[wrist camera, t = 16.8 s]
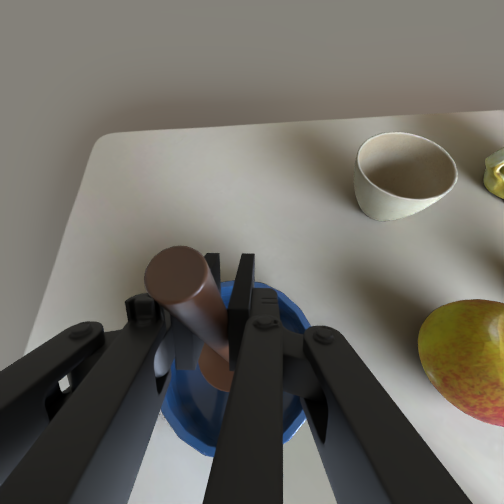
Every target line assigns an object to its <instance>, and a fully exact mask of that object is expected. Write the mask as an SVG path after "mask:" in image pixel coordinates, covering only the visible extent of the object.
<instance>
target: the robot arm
mask: <svg viewBox="0 0 504 504" xmlns="http://www.w3.org/2000/svg"><path fill="white" fill-rule="evenodd" d="M204 258H205V260H206V262H207V264H208V266H209V269H210V271H211V273H212V276H213V278H214V281H215V283H216V285H217V288H218V290H219V292H220V295H221V280H220V255H219V253H207V254H206V255H205V257H204ZM254 268H255V254H244V253H242V255H241V259H240V263H239V266H238V270H237V274H236V278H235V282H234V285H233V289H232V293H231V297H230V301H229V304H228V308H227V312H228V317H229V324H228V343H229V371H234V375H233V379H232V383H231V388H230V392H229V396H228V400H227V404H226V408H225V413H224V417H223V421H222V425H221V429H220V433H219V438H218V442H217V446H216V450H215V454H214V458H213V462H212V467H211V471H210V475H209V479H208V483H207V487H206V492H205V496H204V500H203V504H283V391H284V392H287V393H290V394H293V395H297V396H300V402H301V405H302V407H303V410H304V413H305V416H306V418H307V421H308V424H309V427H310V429H311V432H312V435H313V438H314V440H315V443H316V446H317V449H318V451H319V454H320V457H321V460H322V462H323V465H324V468H325V471H326V474H327V476H328V479H329V482H330V485H331V487H332V490H333V493H334V496H335V498H336V501H337V504H473V503H472V502H471V501H470V500H469V498H468V497H467V496H466V494H465V493H464V492H463V490H462V489H461V488H460V487H459V485H458V484H457V483H456V481H455V480H454V479H453V478H452V476H451V475H450V474H449V472H448V471H447V470H446V468H445V467H444V466H443V465H442V463H441V462H440V461H439V459H438V458H437V457H436V455H435V454H434V453H433V452H432V450H431V449H430V448H429V446H428V445H427V444H426V442H425V441H424V440H423V439H422V437H421V436H420V435H419V433H418V432H417V431H416V430H415V428H414V427H413V426H412V424H411V423H410V422H409V420H408V419H407V418H406V417H405V415H404V414H403V413H402V411H401V410H400V409H399V407H398V406H397V405H396V404H395V402H394V401H393V400H392V398H391V397H390V396H389V394H388V393H387V392H386V391H385V389H384V388H383V387H382V385H381V384H380V383H379V381H378V380H377V379H376V378H375V376H374V375H373V374H372V372H371V371H370V370H369V369H368V367H367V366H366V365H365V363H364V362H363V361H362V359H361V358H360V357H359V356H358V354H357V353H356V352H355V350H354V349H353V348H352V346H351V345H350V344H349V343H348V341H347V340H346V339H345V337H344V336H343V335H342V334H341V333H340V332H339V331H337V330H335V329H333V328H331V327H328V326H312V327H309V328H308V329H306V330H305V332H304V335H303V334H299V333H295V332H292V331H290V330H288V329H286V328H285V327H284V326H283V325H282V322H281V320H280V313H279V304H278V296H277V292H276V291H275V290H274V289H273V288H254ZM125 305H126V312H127V318H128V322H127V324H126V325H125V326H124V328H123V329H121V330H116V331H110V332H104V328H103V325H102V324H101V323H99V322H90V321H88V322H82V323H79V324H77V325H74V326H71V327H69V328H68V329H66V330H64V331H62V332H61V333H59V334H58V335H56V336H55V337H53V338H52V339H50V340H48V341H47V342H45V343H44V344H42V345H41V346H39V347H38V348H36V349H35V350H33V351H31V352H30V353H28V354H27V355H25V356H24V357H22V358H21V359H19V360H17V361H16V362H14V363H13V364H11V365H10V366H8V367H7V368H5V369H4V370H2V371H0V504H127V503H128V500H129V497H130V494H131V491H132V488H133V486H134V483H135V480H136V477H137V474H138V471H139V468H140V466H141V463H142V460H143V457H144V454H145V451H146V449H147V446H148V443H149V440H150V437H151V434H152V432H153V429H154V426H155V423H156V420H157V417H158V415H159V412H160V409H161V406H162V403H163V400H164V398H165V395H166V392H167V389H168V386H169V383H170V381H171V365H172V362H173V360H174V358H175V366H176V370H195V369H196V366H197V363H198V360H199V357H200V354H201V351H202V348H203V346H204V343H205V342H204V341H202V340H201V339H200V338H199V337H198V336H196V335H195V334H194V333H193V332H192V331H190V330H189V329H188V328H187V327H186V326H184V325H183V324H182V323H181V322H180V321H179V320H177V319H176V318H175V317H174V316H173V315H171V314H170V313H169V312H168V311H167V310H165V309H164V308H163V307H162V306H161V305H159V304H158V303H157V302H156V301H155V300H153V299H152V298H151V297H150V295H149V294H148V293H144V294H139V295H135V296H133V297H131V298H129V299H127V300H126V301H125ZM66 375H67V377H68V381H69V385H70V386H69V387H68V388H67V389H66V390H64V391H63V392H62V391H61V390H60V386H59V383H58V381H60V380H61V379H62V378H63V377H64V376H66Z"/></svg>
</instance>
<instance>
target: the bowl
mask: <svg viewBox="0 0 504 504" xmlns="http://www.w3.org/2000/svg"><path fill="white" fill-rule="evenodd" d="M234 282H235V280H233V281H226V282H221V297H222V300H223V302H224V304H225V307H226V309H227V308H228V304H229V301H230V297H231V293H232V289H233V285H234ZM254 288H272V287H270V286H268V285H266V284H264V283H260V282H254ZM273 289H274V288H273ZM274 290H275V291H276V292H277V296H278V304H279V313H280V320H281V322H282V325H283V326H284V327H285V328H286V329H288V330H290V331H292V332H295V333H299V334H303V335H304V332H305V330H306V329H308V328H309V327H311V325H310V324H309V322H308V320H307V319H306V317H305V315H304V314H303V312H302V310H301V309H300V308H299V307H298V306H297V305H296V304H295V303H294V302H292V301H291V300H290V299H289V298H288V297H287V296H286V295H285V294H284V293H282V292H280V291H278V290H276V289H274ZM228 396H229V392H225V391H221V390H219V389H217V388H215V387H213V386H212V385H211V384H209V383H208V381H207V380H206V379H205V378H204V376H203V375H202V373H201V370H200V368H199V364H198V363H197V366H196V369H195V370H176V366H175V358H174V360H173V362H172V365H171V381H170V383H169V386H168V389H167V392H166V395H165V398H164V400H163V403H162V406H161V411H162V414H163V415H164V417H165V418H166V420H167V421H168V423H169V424H170V426H171V427H172V428H173V430H174V431H175V433H176V434H177V436H178V437H180V439H181V440H183V441H184V442H186V443H187V444H189V445H190V446H191V447H193V448H194V449H196V450H197V451H199V452H200V453H201V454H203V455H205V456H210V457H214V454H215V450H216V446H217V442H218V438H219V433H220V429H221V425H222V421H223V417H224V413H225V408H226V404H227V400H228ZM306 419H307V418H306V416H305V413H304V410H303V407H302V405H301V402H300V396H297V395H293V394H290V393H287V392H284V391H283V444H284V443H286V442H287V441H289V439H291V438H292V437H293V435H294V434H295V433H296V431H297V430H298V429H299V428H300V426H301V425H302V424H303V423H304V421H305V420H306Z"/></svg>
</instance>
